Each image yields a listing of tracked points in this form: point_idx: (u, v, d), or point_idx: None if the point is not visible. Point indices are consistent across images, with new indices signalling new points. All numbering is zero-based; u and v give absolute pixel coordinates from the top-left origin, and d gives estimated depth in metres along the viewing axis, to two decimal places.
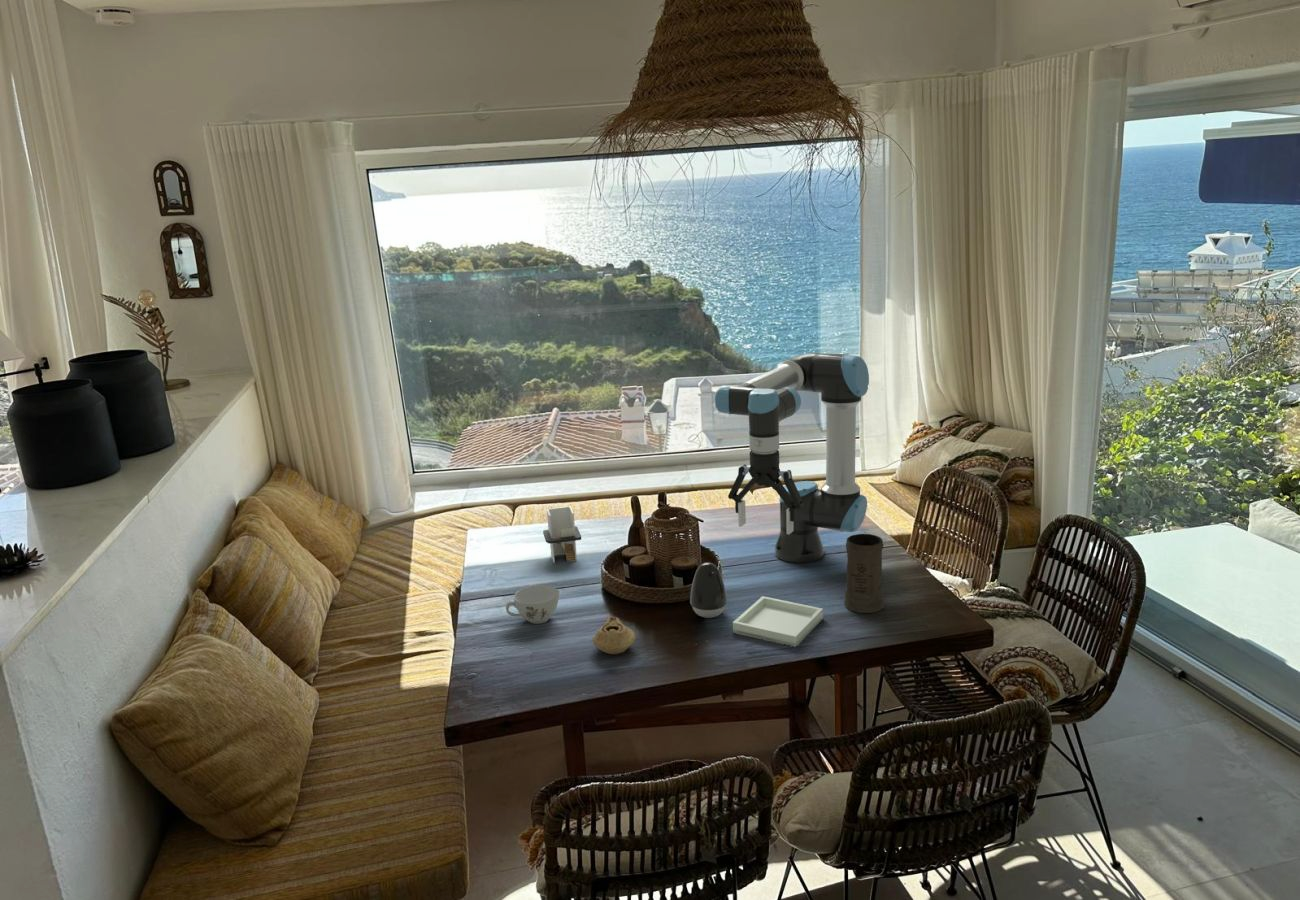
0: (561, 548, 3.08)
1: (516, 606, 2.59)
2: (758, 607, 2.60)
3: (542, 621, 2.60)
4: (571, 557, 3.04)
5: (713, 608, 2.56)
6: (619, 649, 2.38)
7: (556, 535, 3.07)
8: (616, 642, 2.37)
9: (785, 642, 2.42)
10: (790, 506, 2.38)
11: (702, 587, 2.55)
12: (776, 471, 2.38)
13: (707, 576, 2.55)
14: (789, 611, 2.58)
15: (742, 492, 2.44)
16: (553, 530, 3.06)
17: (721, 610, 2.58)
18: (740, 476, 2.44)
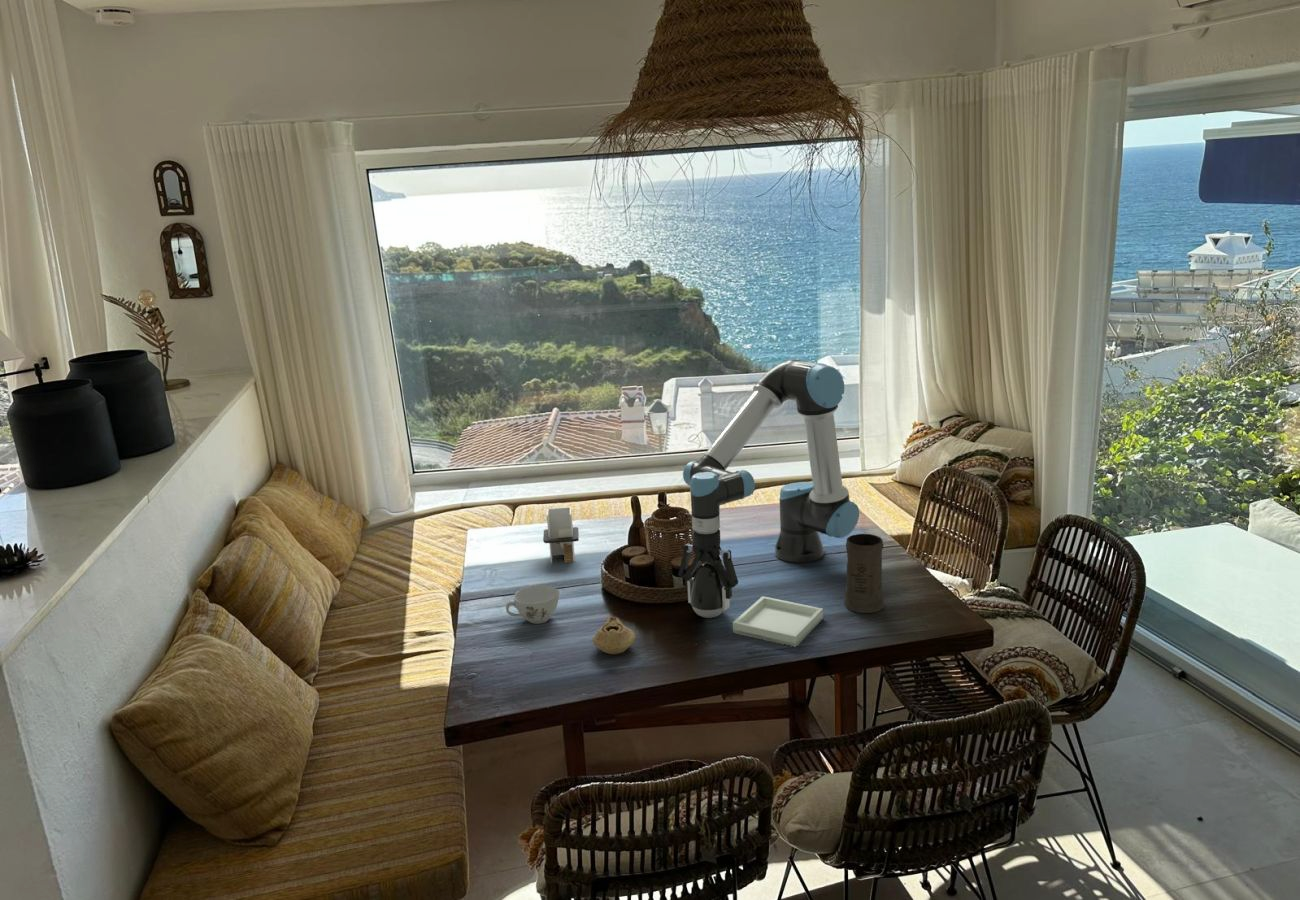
0: (561, 548, 3.08)
1: (516, 606, 2.59)
2: (758, 607, 2.60)
3: (542, 621, 2.60)
4: (569, 558, 3.03)
5: (713, 608, 2.55)
6: (619, 649, 2.38)
7: (557, 535, 3.07)
8: (616, 642, 2.37)
9: (785, 642, 2.42)
10: (725, 585, 2.54)
11: (702, 587, 2.55)
12: (717, 550, 2.53)
13: (707, 576, 2.55)
14: (789, 611, 2.58)
15: (689, 570, 2.59)
16: (553, 530, 3.06)
17: (721, 610, 2.58)
18: (685, 554, 2.59)
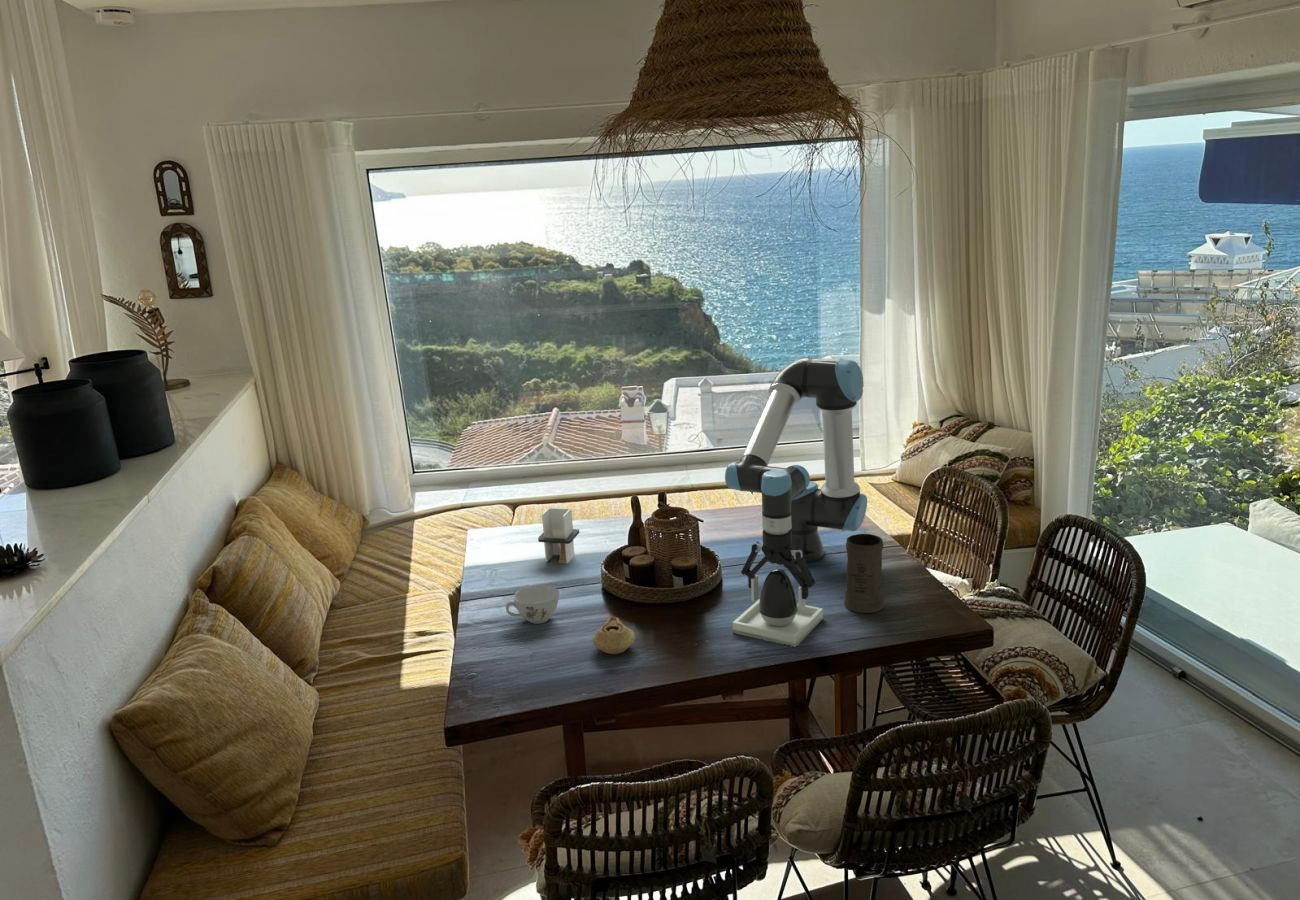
0: None
1: (516, 606, 2.59)
2: (758, 607, 2.60)
3: (542, 621, 2.60)
4: (564, 559, 3.03)
5: (784, 616, 2.46)
6: (619, 649, 2.38)
7: None
8: (616, 642, 2.37)
9: (785, 642, 2.42)
10: (802, 585, 2.44)
11: (773, 594, 2.46)
12: (788, 550, 2.43)
13: (778, 583, 2.46)
14: None
15: (755, 569, 2.50)
16: (554, 529, 3.06)
17: (792, 618, 2.48)
18: (753, 553, 2.49)
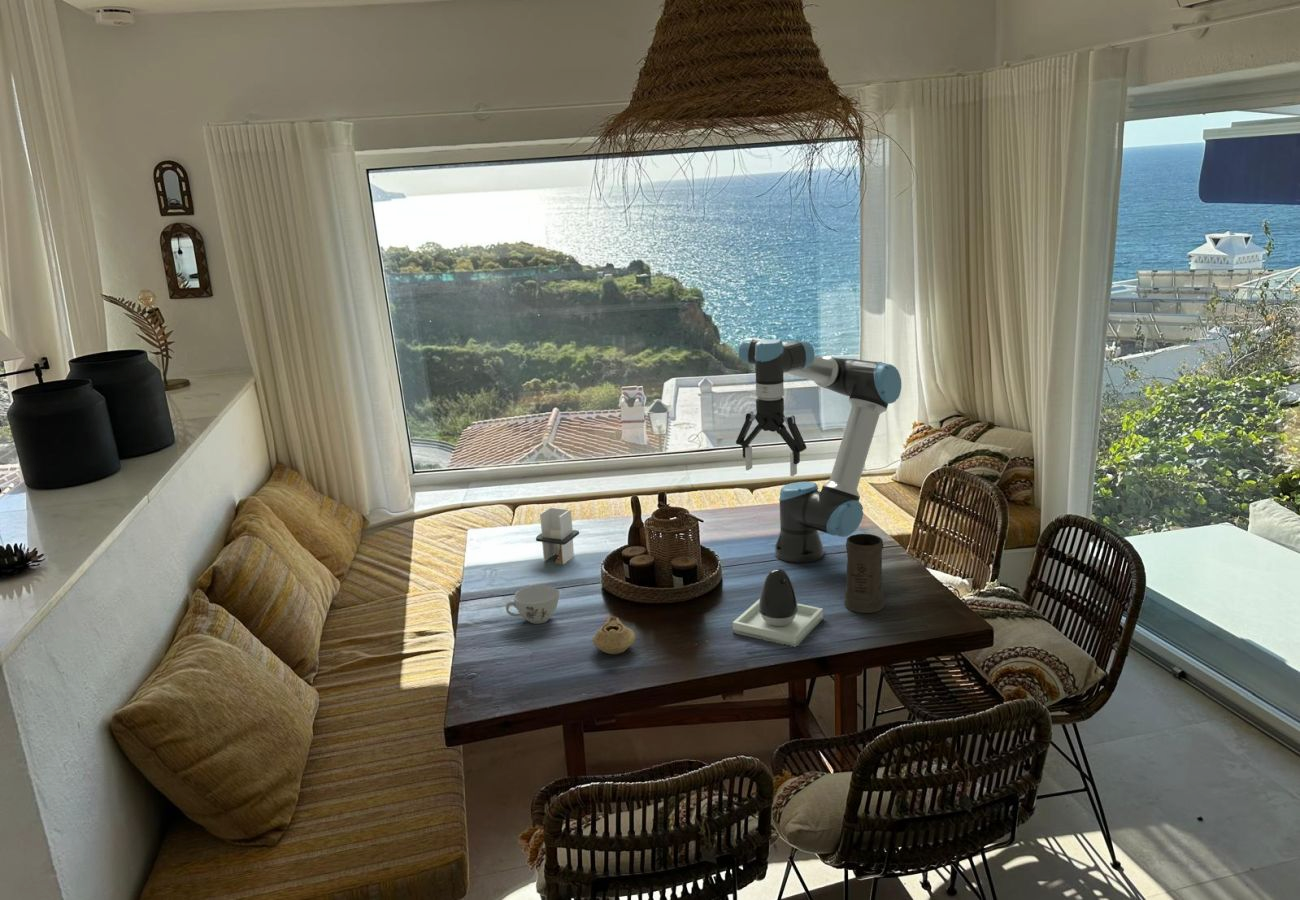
0: None
1: (516, 606, 2.59)
2: (758, 607, 2.60)
3: (542, 621, 2.60)
4: (561, 560, 3.02)
5: (784, 616, 2.46)
6: (619, 649, 2.38)
7: None
8: (616, 642, 2.37)
9: (785, 642, 2.42)
10: (794, 449, 2.55)
11: (773, 594, 2.46)
12: (781, 416, 2.55)
13: (778, 583, 2.46)
14: None
15: (749, 437, 2.61)
16: (555, 529, 3.07)
17: (792, 618, 2.48)
18: (747, 422, 2.60)
